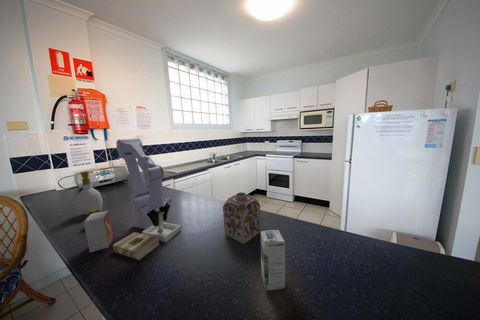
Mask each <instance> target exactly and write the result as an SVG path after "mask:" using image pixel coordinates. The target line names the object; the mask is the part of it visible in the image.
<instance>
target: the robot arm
mask: <svg viewBox="0 0 480 320" xmlns="http://www.w3.org/2000/svg"><path fill="white" fill-rule="evenodd" d="M116 150H117V153H118V156H119V158H120V159H123V160H124V162H125V164H126V168H127V172H128V175H129V178H130V180H131V181H130V182H131V184H132V187H133V191H132V193H130V195H129V203H130V207H131V209H132V212H131V215H132V216H131V217H132V225H131V227H133V228H137V229H142V230H146V229H148V228H149V227H151V226H152V225H153V226H156V227H157V226H158V213H159V212H156V211H157V209H158V210H164V214H163V222H166V221H167V220H168V213H169V211H170V208H171V204H169V203H172V202H173V200H172V199H173V198H172V197H169V196H168V197H166V198H165V194H164V188H163V180H162V179H163V178H164V175H165V173H164V169H163V167H162V166H161V165H158V164H156V163H155V162H154V160H153V159H152V158H151V157H150V156H149V155H146V153H145V152H144V149H143V142H142V140H141V139H140V138H129V139H126V138H125V139H117V141H116ZM140 170H141V171H142V173H143V174H142V173H141V171H140ZM142 175H143V176H142ZM143 178H144V180H143ZM144 181H145V182H144ZM145 185H146V186H147V187H146V186H145Z"/></svg>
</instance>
